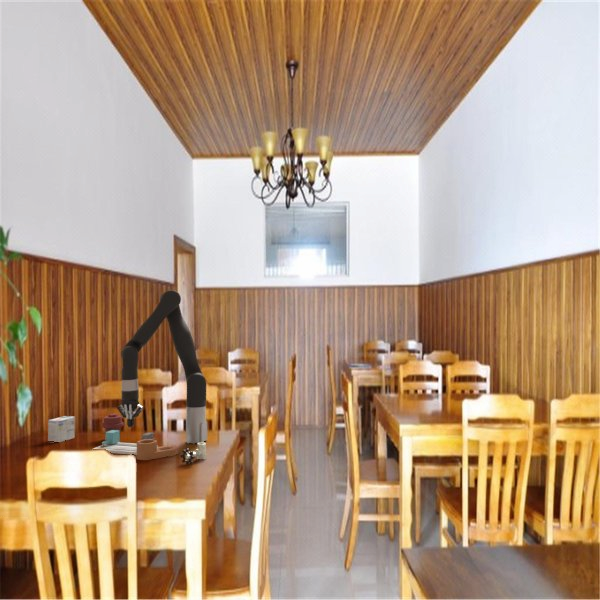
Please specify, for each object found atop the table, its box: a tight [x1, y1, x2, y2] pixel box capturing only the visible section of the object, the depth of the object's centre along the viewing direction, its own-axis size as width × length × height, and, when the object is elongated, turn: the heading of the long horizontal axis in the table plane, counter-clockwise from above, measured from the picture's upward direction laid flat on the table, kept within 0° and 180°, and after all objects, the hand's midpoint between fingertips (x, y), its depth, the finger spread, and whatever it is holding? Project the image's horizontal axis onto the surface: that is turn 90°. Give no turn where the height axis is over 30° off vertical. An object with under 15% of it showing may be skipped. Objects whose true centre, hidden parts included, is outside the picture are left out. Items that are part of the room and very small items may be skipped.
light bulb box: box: [47, 415, 76, 443], centre depth 241 cm, size 11×7×11 cm, turn 160°
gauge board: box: [92, 442, 159, 456], centre depth 223 cm, size 25×13×2 cm, turn 75°
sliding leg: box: [101, 430, 121, 447], centre depth 226 cm, size 4×9×5 cm, turn 166°
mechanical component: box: [101, 413, 125, 436], centre depth 242 cm, size 12×10×10 cm
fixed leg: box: [141, 431, 155, 440], centre depth 221 cm, size 3×9×6 cm, turn 165°
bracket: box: [136, 438, 179, 461], centre depth 213 cm, size 18×8×7 cm, turn 126°
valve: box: [180, 442, 207, 466], centre depth 205 cm, size 7×7×12 cm
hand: (130, 426), depth 226 cm, fingers closed
